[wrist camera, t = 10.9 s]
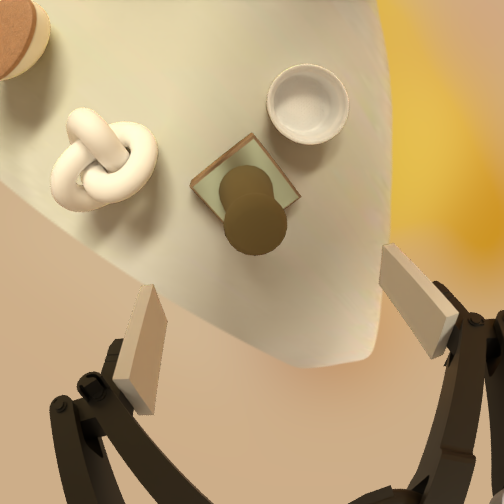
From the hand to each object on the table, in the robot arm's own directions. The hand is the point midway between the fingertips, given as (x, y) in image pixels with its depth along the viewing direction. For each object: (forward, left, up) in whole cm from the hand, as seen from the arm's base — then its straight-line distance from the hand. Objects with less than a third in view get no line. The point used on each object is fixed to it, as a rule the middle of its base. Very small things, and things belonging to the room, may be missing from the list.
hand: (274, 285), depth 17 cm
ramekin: (-11, -4, -22) cm, 25 cm away
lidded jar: (+8, -34, -22) cm, 41 cm away
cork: (0, 0, -19) cm, 19 cm away
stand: (0, 0, -22) cm, 22 cm away
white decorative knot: (+9, -13, -22) cm, 27 cm away
